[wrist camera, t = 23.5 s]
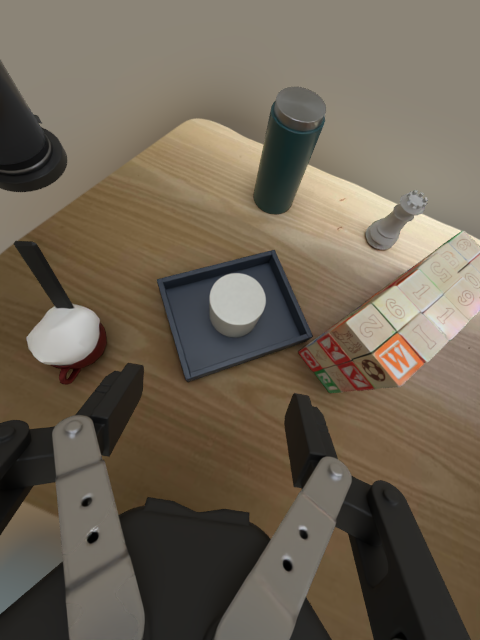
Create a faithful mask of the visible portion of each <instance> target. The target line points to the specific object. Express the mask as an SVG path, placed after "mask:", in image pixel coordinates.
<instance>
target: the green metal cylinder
mask: <svg viewBox="0 0 480 640" xmlns="http://www.w3.org/2000/svg"><path fill="white" fill-rule="evenodd" d="M325 113H326V105H325V103H324V101H323V100H322V98H321V97H320V96H319V95H317V94H316V93H315V92H313V91H311V90H309V89H306V88H302V87H288V88H285V89H283V90H281V91H280V92H279V93H278V95H277V97H276V101H275V102H274V103H273V105H272V107H271V112H270V116H269V121H268V126H267V131H266V136H265V141H264V146H263V150H262V155H261V160H260V165H259V170H258V175H257V179H256V184H255V189H254V194H253V198H254V201H255V203H256V205H257V206H258V207H259V208H260V209H261V210H263V211H264V212H267V213H270V214H281V213H284V212H286V211H287V210H288V209H289V208H290V207H291V205H292V202H293V200H294V197H295V195H296V192H297V190H298V187H299V185H300V182H301V180H302V177H303V175H304V172H305V170H306V167H307V165H308V163H309V160H310V158H311V155H312V153H313V150H314V148H315V145H316V143H317V140H318V138H319V135H320V133H321V130H322V127H323V125H324V122H325V117H324V115H325Z"/></svg>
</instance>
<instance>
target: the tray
mask: <svg viewBox="0 0 480 640" xmlns="http://www.w3.org/2000/svg"><path fill="white" fill-rule="evenodd" d="M232 273H240V274H245V275H248V276H250V277H252V278H254V279H255V280H256V281H257V282H258V283H259V284H260V285H261V287H262V288H263V290H264V293H265V297H266V304H265V308H264V311H263V313H262V314H261V316H260V318H259V320H258V322H257V323H256V325H255V327H254V328H253V330H252V331H251V332H249V333H248V334H246V335H244V336H241V337H228V336H225V335H222V334H221V333H219V332H218V331H217V330H216V329H215V328H214V327H213V325H212V323H211V320H210V292H211V289H212V287H213V285H214V284H215V282H216V281H217V280H219V279H220V278H221V277H223V276H225V275H228V274H232ZM157 283H158V286H159V289H160V293H161V296H162V300H163V303H164V307H165V310H166V314H167V317H168V321H169V324H170V328H171V331H172V334H173V338H174V341H175V345H176V348H177V352H178V355H179V359H180V362H181V366H182V369H183V373H184V376H185V379H186V381H187V382H190V381H193V380H195V379H198V378H201V377H204V376H207V375H210V374H213V373H216V372H219V371H222V370H225V369H228V368H230V367H233V366H236V365H239V364H242V363H245V362H248V361H251V360H254V359H257V358H260V357H263V356H265V355H268V354H271V353H274V352H277V351H280V350H283V349H286V348H289V347H292V346H295V345H298V344H300V343H303V342H306V341H307V340H309V339H310V338H312V337H313V335H312V333H311V331H310V328H309V326H308V324H307V322H306V319H305V317H304V315H303V313H302V311H301V308H300V306H299V304H298V302H297V299H296V297H295V295H294V293H293V290H292V288H291V286H290V284H289V281H288V279H287V277H286V275H285V272H284V270H283V268H282V266H281V263H280V261H279V259H278V257H277V254H276V252H275V250H272V251H268V252H264V253H260V254H256V255H252V256H248V257H244V258H240V259H236V260H232V261H228V262H224V263H220V264H216V265H212V266H208V267H204V268H200V269H196V270H192V271H189V272H185V273H181V274H177V275H173V276H169V277H165V278H161V279H157Z"/></svg>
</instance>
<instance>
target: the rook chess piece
mask: <svg viewBox="0 0 480 640" xmlns="http://www.w3.org/2000/svg"><path fill="white" fill-rule="evenodd" d="M417 192H418V191H417V190H414V191H413V192H410V193H409V194H405V195H403V196H402V197H401V199H400V204H398V205H396V206H395V207H394V210H393V212H391V213H390V214H389V215H388V216H386V217H385V218H383V219H380V220H377V221H375V222H374V223H373V224H372V225H371V226H369V227H368V228H367V230H366V238H367V241H368V243H369V244H370V245H371V246H372V247H374V248H376V249H388V248H391V247H392V245H393V244H394V243H395V242H396V241H397V240H398V237H399V234H400V231H401V229H402V228H403V226H404V225H405V224H406V223H407V222H409V221H411V220H412V219H413V218H414V215H419V214H422V213H423V211H424V208H425V206H426V205H427V203H426V202H427V201H428V200H427V198H424V199H423V198H422V196H423V195H424V194H423V193H422V192H421V193H420V194H419V195H418V194H416V193H417Z"/></svg>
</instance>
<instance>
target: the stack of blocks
mask: <svg viewBox="0 0 480 640" xmlns="http://www.w3.org/2000/svg"><path fill="white" fill-rule="evenodd" d="M479 311H480V246H479V245H478V244H477V243H476V242H475V241H474V240H473V239H472V238H471V237H470V236H469V235H468V234H467V233H466V232H465V231H461V232H460V233H458V234H457V235H456V236H454V237H453V238H451V239H450V240H448V241H447V242H446V243H444V244H443V245H442V246H440V247H439V248H438V249H436V250H435V251H434V252H433V253H431V254H430V255H429V256H427V257H426V258H424V259H423V260H422V261H420V262H419V263H417V264H416V265H415V266H413V267H412V268H411V269H409V270H408V271H407V272H405V273H404V274H402V275H401V276H399V277H398V278H397V279H395V280H394V281H393V282H391V283H390V284H389V285H387V286H386V287H385V288H383V289H382V290H381V291H379V292H378V293H376V294H375V295H374V296H372V297H371V298H370V299H368V300H367V301H366V302H365V303H364V304H363V305H361V306H360V307H359V308H357V309H356V310H354V311H353V312H352V313H350V314H349V315H348V316H347V317H345V318H344V319H343V320H341V321H340V322H338V323H337V324H335V325H334V326H332V327H331V328H330V329H328V330H327V331H325V332H324V333H323V334H321V335H320V336H319V337H317V338H316V339H314V340H313V341H311V342H310V343H309V344H307V345H306V346H305V347H303V348H302V349H301V350H299V351H298V353H299V354H300V356H301V357H302V358H303V360H304V361H305V362H306V364H307V365H308V366H309V368H310V369H311V370H312V371H313V372H314V373H315V375H316V376H317V377H318V379H319V380H320V381H321V383H322V384H323V385H324V387H325V388H326V389H327V391H328V392H329V393H339V392H343V391H355V390H357V391H363V390H373V389H378V388H392V387H401V386H402V385H403V384H404V383H405V382H406V381H407V380H408V379H409V378H410V377H411V376H412V375H413V374H414V373H415V372H416V371H417V370H418V369H420V368H421V367H422V366H423V365H424V363H427V362H429V361H430V360H431V359H432V358H433V357H434V356H435V355H436V354H437V353H438V352H439V351H440V350H441V349H442V348H443V347H444V346H445V345H446V344H447V343H448V341H450V340H452V339H453V338H454V337H455V336H456V335H457V334H458V333H459V332H460V331H461V330H462V329H463V328H464V327H465V326H466V325H467V324H468V322H469V320H471V319H472V318H473V317H474V316H475V315H476V314H477V313H478V312H479Z"/></svg>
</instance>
